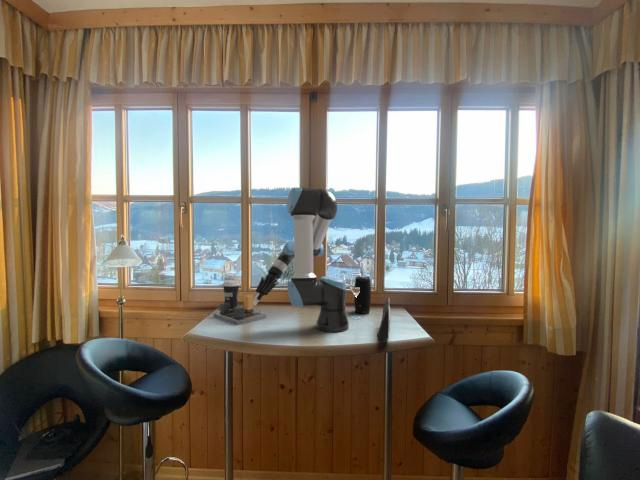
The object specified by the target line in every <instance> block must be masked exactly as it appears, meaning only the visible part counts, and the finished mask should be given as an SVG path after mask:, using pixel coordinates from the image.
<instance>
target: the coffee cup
mask: <svg viewBox="0 0 640 480" xmlns="http://www.w3.org/2000/svg"><path fill="white" fill-rule="evenodd" d="M240 286H241V283H240V281H239V280H235V279H227V280H224V281H223V283H222V287H223V295H224V297H223V298H224V303H225V302H227V303H230V310H232V309H234V307H238V301H239V290H240Z"/></svg>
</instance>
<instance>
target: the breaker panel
mask: <svg viewBox="0 0 640 480" xmlns="http://www.w3.org/2000/svg"><path fill="white" fill-rule="evenodd" d="M267 316H268V315H267V313H265V312H262V311H261V312H260V311H257V310H254V309H253V311H252V312H245V311H244V306H240V305H239V306H237V307H234V309H230V303H227V302H225V301H224V302H221V303H219V311H218V312H214V313H213V318H215V319H218V320H220V321H223V322H226V323H229V324H232V325H234V326H240V325H244V324H248V323H252V322H256V321H260V320H263V319H267Z"/></svg>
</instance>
